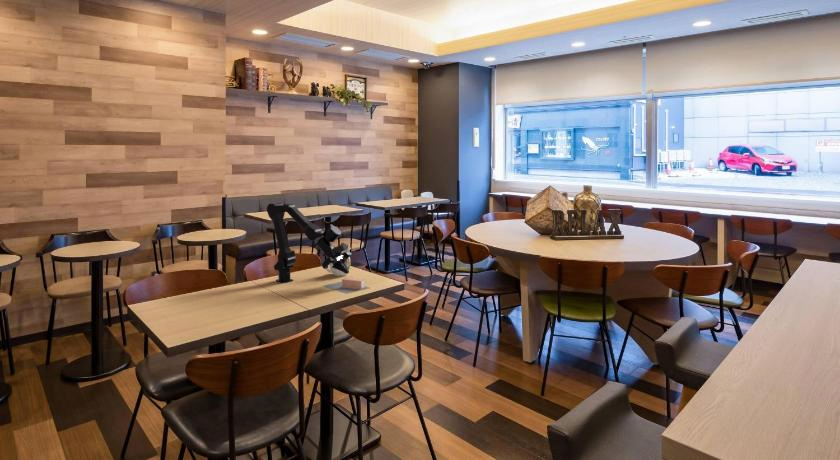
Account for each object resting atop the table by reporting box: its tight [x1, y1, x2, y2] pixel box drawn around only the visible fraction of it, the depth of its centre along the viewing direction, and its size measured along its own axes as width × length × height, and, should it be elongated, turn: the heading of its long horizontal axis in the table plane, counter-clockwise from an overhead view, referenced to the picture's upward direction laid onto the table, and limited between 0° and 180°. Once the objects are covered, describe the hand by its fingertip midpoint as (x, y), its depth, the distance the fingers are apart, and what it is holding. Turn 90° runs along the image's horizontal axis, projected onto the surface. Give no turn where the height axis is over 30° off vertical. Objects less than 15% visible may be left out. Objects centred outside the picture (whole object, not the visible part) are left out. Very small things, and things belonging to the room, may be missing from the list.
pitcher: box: [325, 246, 352, 277], centre depth 265 cm, size 11×18×14 cm, turn 142°
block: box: [341, 276, 366, 289], centre depth 240 cm, size 4×4×10 cm
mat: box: [322, 281, 370, 295], centre depth 241 cm, size 20×14×1 cm
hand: (348, 272), depth 240 cm, fingers closed
